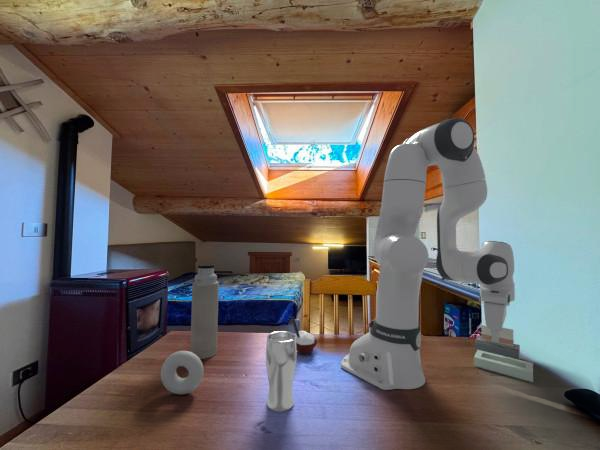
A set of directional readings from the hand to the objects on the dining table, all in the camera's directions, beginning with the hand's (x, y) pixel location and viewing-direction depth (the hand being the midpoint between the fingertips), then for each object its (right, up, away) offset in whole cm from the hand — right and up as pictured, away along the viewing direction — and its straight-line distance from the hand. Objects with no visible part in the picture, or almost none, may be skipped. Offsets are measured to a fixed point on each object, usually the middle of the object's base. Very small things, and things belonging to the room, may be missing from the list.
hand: (497, 337), depth 85 cm
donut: (-90, -5, -21) cm, 92 cm away
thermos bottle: (-92, -6, +1) cm, 93 cm away
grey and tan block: (0, -7, 0) cm, 7 cm away
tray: (-4, -7, -8) cm, 12 cm away
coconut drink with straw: (-61, -6, +3) cm, 61 cm away
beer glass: (-66, -5, -24) cm, 71 cm away
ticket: (0, -6, 0) cm, 6 cm away
